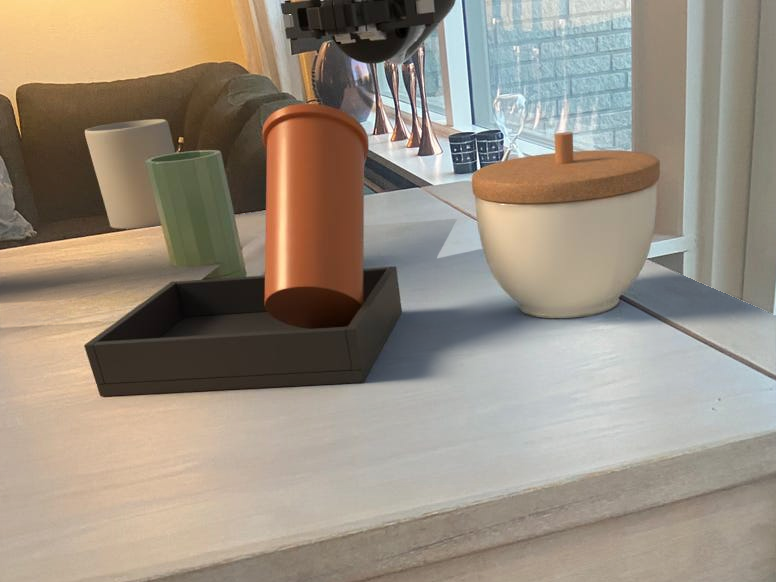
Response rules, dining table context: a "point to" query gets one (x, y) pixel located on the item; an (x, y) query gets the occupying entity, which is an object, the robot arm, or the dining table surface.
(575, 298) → the lidded bowl
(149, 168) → the cup
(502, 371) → the dining table surface
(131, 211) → the mug
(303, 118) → the pot
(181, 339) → the dark shallow tray
